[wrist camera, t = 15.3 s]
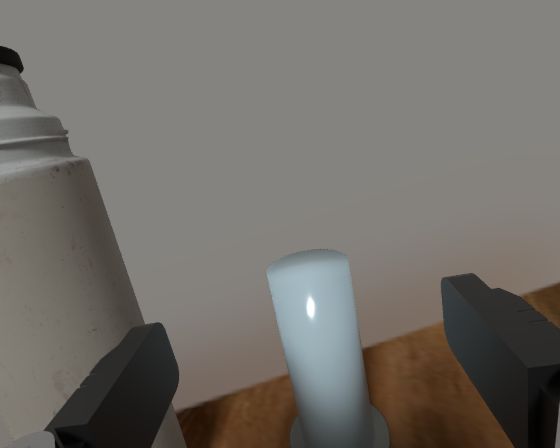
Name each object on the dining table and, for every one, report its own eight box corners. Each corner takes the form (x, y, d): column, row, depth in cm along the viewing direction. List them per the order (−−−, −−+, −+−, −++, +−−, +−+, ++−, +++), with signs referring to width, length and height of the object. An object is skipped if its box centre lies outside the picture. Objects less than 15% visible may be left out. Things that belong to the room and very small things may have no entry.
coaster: (377, 395, 28) (376, 389, 28) (403, 482, 21) (402, 474, 21) (291, 406, 29) (290, 400, 28) (290, 493, 22) (288, 486, 22)
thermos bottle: (41, 583, 20) (-253, 54, 12) (108, 456, 28) (-50, 82, 20) (176, 564, 19) (-45, 5, 12) (206, 440, 27) (82, 52, 20)
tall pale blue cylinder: (366, 402, 27) (342, 244, 23) (382, 462, 22) (354, 275, 19) (302, 409, 27) (269, 256, 24) (304, 470, 22) (263, 290, 19)
